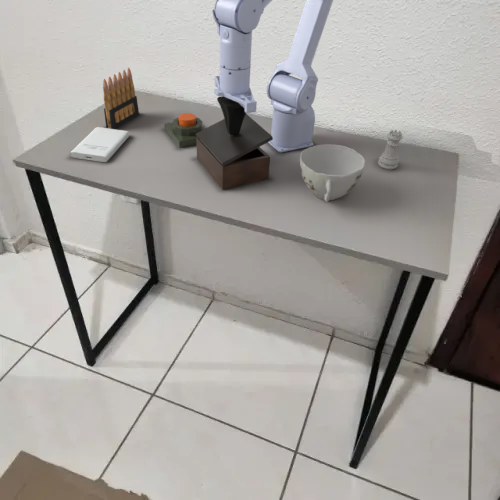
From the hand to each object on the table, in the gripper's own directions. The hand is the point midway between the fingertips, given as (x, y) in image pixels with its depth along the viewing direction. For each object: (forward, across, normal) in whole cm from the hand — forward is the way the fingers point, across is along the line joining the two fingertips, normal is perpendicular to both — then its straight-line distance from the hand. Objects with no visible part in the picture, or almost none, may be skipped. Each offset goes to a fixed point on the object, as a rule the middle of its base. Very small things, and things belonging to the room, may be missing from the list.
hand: (233, 132), depth 96 cm
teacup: (+8, +17, +13) cm, 23 cm away
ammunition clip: (+9, -31, -15) cm, 36 cm away
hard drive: (+9, -20, -23) cm, 32 cm away
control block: (+8, -18, -3) cm, 20 cm away
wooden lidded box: (+8, 0, 0) cm, 8 cm away
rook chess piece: (+8, +12, +33) cm, 36 cm away
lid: (+1, 0, 0) cm, 1 cm away
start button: (+5, -18, -3) cm, 19 cm away
